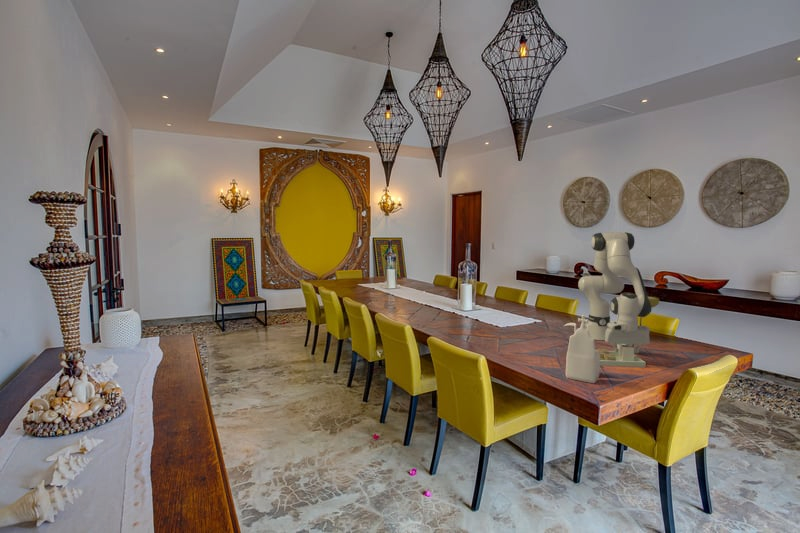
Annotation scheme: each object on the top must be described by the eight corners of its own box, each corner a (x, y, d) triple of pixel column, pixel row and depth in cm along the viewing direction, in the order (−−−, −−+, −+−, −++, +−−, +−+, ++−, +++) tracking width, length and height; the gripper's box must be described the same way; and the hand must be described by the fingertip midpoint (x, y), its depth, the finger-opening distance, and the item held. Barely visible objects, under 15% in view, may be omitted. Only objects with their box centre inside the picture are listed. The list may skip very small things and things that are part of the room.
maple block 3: (604, 361, 201) (604, 354, 201) (612, 362, 201) (612, 354, 200) (607, 364, 197) (607, 356, 197) (615, 364, 197) (616, 356, 196)
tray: (586, 356, 213) (586, 350, 212) (629, 358, 210) (630, 351, 210) (597, 367, 196) (598, 360, 196) (645, 369, 193) (645, 362, 193)
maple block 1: (597, 356, 210) (597, 348, 210) (605, 356, 209) (605, 348, 209) (600, 358, 206) (600, 351, 206) (608, 358, 205) (608, 351, 205)
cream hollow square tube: (618, 359, 204) (619, 344, 203) (628, 360, 203) (629, 344, 203) (622, 363, 199) (623, 347, 198) (633, 363, 198) (634, 347, 198)
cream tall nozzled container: (600, 376, 186) (604, 312, 183) (596, 385, 175) (599, 317, 172) (562, 368, 196) (564, 308, 193) (555, 376, 185) (557, 312, 182)
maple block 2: (594, 358, 206) (594, 351, 205) (602, 358, 205) (603, 351, 205) (597, 361, 202) (597, 353, 202) (605, 361, 201) (606, 353, 201)
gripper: (646, 324, 201) (645, 351, 203) (604, 323, 204) (602, 349, 205) (653, 327, 195) (651, 355, 196) (608, 326, 198) (607, 353, 199)
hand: (626, 352), depth 201 cm, fingers open, 8 cm apart
